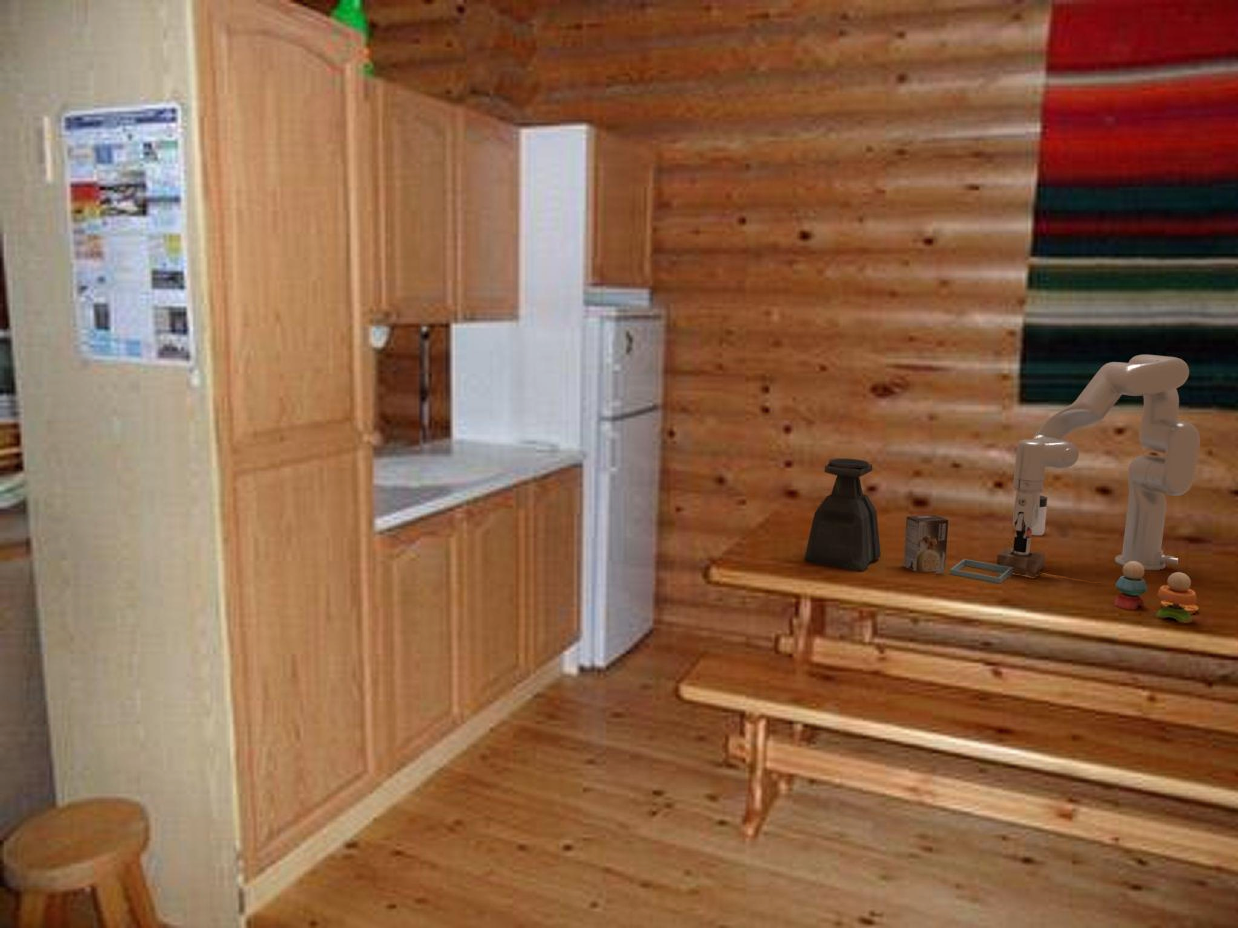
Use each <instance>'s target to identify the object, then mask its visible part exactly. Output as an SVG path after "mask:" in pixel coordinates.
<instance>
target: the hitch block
mask: <svg viewBox="0 0 1238 928" xmlns="http://www.w3.org/2000/svg"><path fill="white" fill-rule="evenodd" d="M1013 548H1014V547H1009V546H1006V547H1005V548H1004V549H1002V551H1000V552H999V553H997V558H996V559H997V560H996V565H1002V566H1007V567H1013V570H1012V573H1015V574H1020V575H1028V576H1031V577H1036V575H1038V574H1039V572H1041V570H1042V568H1044V562H1045V552H1040V551H1034V550H1030V552H1029V557H1023V556H1017V555H1013V553H1014V550H1013ZM1039 575H1040V574H1039ZM1039 575H1038V576H1039ZM1036 578H1037V577H1036Z"/></svg>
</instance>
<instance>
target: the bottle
mask: <svg viewBox="0 0 1238 928" xmlns="http://www.w3.org/2000/svg"><path fill="white" fill-rule="evenodd" d="M872 471H873V463H870V462H869V461H866V460H863V459H856V458H838V457H837V458H833V459H828V464H825V465H824V473H826V474H829V475H834V476H836V477H835V478H836V479H835V481H834V485H833V487H832V491H831V493H830V494H828V495H827V496H825V498H824V499H823V500H822V502H821V503H820V504H819V506H818V508H817V509H816V510H815V512H814V514H813V519H812V524H811V527H810V531H809V536H808V539H807V540H808V541H807V545H806V548H805V554H804V558H803V560H804V562H805V563H811V564H814V565H815V564H817V565H822V566H829V567H833V568H839V569H846V570H851V571H857V572H863V571H865V570H866V569H867V568H868V567H869V565H870V563H874V562H876V561H877V560H879V559H880V557H881V556H882V553H881V544H880V533H879V523H878V522H879V521H878V515H877V514H878V512H877V509H876V507H875V505H874V504H873V503H872V501H871V499H870V497H869V496H868V494H865V493H863V488H862V483H861V478H860V477H862V476H865V475H867V474H869V473H871V472H872Z"/></svg>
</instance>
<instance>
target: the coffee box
mask: <svg viewBox="0 0 1238 928" xmlns="http://www.w3.org/2000/svg"><path fill="white" fill-rule="evenodd" d="M905 523H906V524H905V539H904V541H905V542H904V543H905V544H904V553H903V554H904V556H903V567H904V568H906V569H909V570H912V571H913V572H916V573H924V572H925V573H926V572H935V573H934V574H937V575H938V574H945V573H946V560H947V547H948V531H949V519H948V518H945V517H941V516H939V515H936V514H930V515H929V514H928V515H907V516H906V521H905Z"/></svg>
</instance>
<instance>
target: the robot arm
mask: <svg viewBox="0 0 1238 928" xmlns="http://www.w3.org/2000/svg"><path fill="white" fill-rule="evenodd" d="M1189 375H1190V369H1189V366H1188V363H1187V362H1185V361H1184V360H1183V359H1182V358H1178V357H1175V356H1167V355H1166V356H1165V355H1156V354H1155V355H1154V354H1139V355H1135V356H1133V357H1132V358H1131V359H1129V361H1128V362H1119V361H1118V362H1117V361H1111V362H1108V363H1107V362H1106V363H1105V364H1104V365H1102V366H1101V367H1100V369H1099V370H1098V371H1097V372H1096V374H1094V376H1093V377H1092V379H1091V380H1090V381H1089V382H1088V383H1087V385H1086V387H1085V388H1084V389H1083V391H1082V392H1081V393H1080V394H1079V395H1078V396H1077V398H1076V400H1074V402H1073V403H1072V404H1069V405H1068V406H1067V407H1065V408H1063V409H1061V410H1060V411H1058V412H1057V413H1055V414H1053V415H1052V416H1050V417H1049V418H1048V419H1047V420H1046V421H1045V422H1044V423H1043V424H1042V425H1041V426H1040V427H1039V428H1038V430H1037V431H1036V432H1035V434H1034V435H1033V436H1032V439H1021V440H1019V441H1018V443H1017V444H1016V452H1015V454H1016V455H1015V465H1014V474H1013V475H1014V476H1013V484H1012V490H1014V491H1016V492H1015V498H1014V506H1013V515H1012V525H1013V526H1014V527H1015V532H1014V539H1013V547H1012V548H1013V550H1014V551H1016V552H1022V553H1025V552H1026V547H1027V538H1026V535H1027V528H1029V529H1031V530H1032V527H1034V526H1035V525H1036V524H1037V523H1038V521H1039V505H1040V495H1041V493H1043V491H1044V490H1043V489H1044V481H1045V472H1046V468H1048V467H1049V468H1056V469H1067V468H1070V467H1072V466H1074V465H1075V464H1076V463H1077V461H1078V459H1079V455H1080V454H1079V450H1078V447H1076V446H1075V444H1074V443H1072V442H1070V441H1067V440H1064V439H1063V438H1064V437H1065V436H1067V435H1068V434H1069V433H1071V432H1073V431H1075V430H1077V429H1080V428H1083V427H1088V426H1091V425H1094V424H1097V423H1099V422H1101V421H1102V420H1103V419H1104V418H1105V417H1106V416H1107V414H1108V413H1109V411H1110V410H1111V409H1112V408H1113V407H1114V405H1116V403H1117V401H1118V400H1119V399H1120V398H1121V396H1122V395H1125V396H1133V397H1140V396H1141V397H1143V406H1142V407H1143V408H1142V415H1141V422H1140V428H1139V443H1140V445H1141V446H1142V447H1143V448H1145V449H1147V450H1149V451H1153V452H1157V453H1161V454H1165V457H1162V456H1158V455H1154V454H1142V455H1139V456H1136V457H1134V458H1133V459H1132V460H1131V462H1130V463H1129V466H1128V468H1127V481H1128V482H1127V483H1128V502H1127V511H1126V521H1125V528H1124V536H1123V545H1122V552H1121V554H1119V555H1116V556H1115V558H1114V560H1115V563H1116V564H1119V565H1121V566H1124V565H1125V564H1126V563H1127V562H1130V561H1136V562H1139V563H1140V564H1142V566H1143V567H1144V570H1145V571H1160V569H1161V570H1164V569H1165V568H1166V564H1170V565H1176V566H1177V565H1178V564H1179V557H1175V555H1174V556H1173V555H1165V553H1164V550H1163V549H1162V544H1163V543H1162V542H1163V538H1164V537H1163V536H1164V528H1165V520H1166V513H1167V499H1166V496H1165V495H1167V496H1168V495H1169V496H1174V497H1175V496H1176V497H1178V496H1182V495H1184V494H1186V493H1187V492H1188V491H1190V489H1191V488H1192V485H1193V483H1194V480H1195V478H1196V477H1195V476H1196V471H1197V464H1198V459H1199V453H1200V446H1201V445H1200V444H1201V436H1200V433H1199V431H1198V428H1196V426H1195V425H1193V424H1192V423H1190V422H1187V421H1183V420H1180V419H1179V420H1178V418H1179V417H1178V415H1179V406H1180V397H1179V393H1178V390H1177V389H1178V388H1179V387H1181V386H1183V385H1184V384H1185V383H1186V381H1187V380H1188V378H1189ZM1062 439H1063V440H1062ZM1023 525H1024V527H1023ZM1022 529H1024V531H1023V530H1022Z"/></svg>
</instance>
